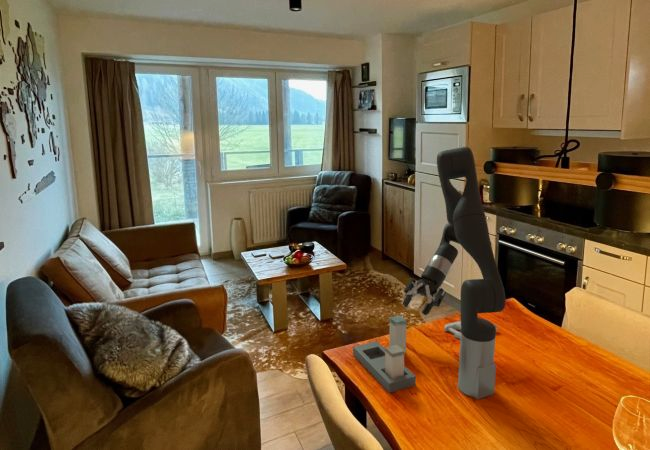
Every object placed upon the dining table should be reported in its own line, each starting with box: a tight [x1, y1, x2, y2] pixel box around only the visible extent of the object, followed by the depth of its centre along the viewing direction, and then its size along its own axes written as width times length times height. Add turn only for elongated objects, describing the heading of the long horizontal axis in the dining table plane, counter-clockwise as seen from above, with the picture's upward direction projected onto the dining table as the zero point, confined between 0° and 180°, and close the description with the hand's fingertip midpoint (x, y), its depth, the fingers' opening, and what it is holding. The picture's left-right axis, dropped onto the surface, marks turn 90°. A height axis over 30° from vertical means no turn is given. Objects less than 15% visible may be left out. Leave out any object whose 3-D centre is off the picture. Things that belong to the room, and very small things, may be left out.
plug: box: [388, 314, 408, 354], centre depth 145 cm, size 4×4×12 cm
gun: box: [443, 319, 499, 340], centre depth 159 cm, size 18×4×10 cm
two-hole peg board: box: [352, 340, 417, 393], centre depth 135 cm, size 23×9×10 cm, turn 23°
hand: (413, 310), depth 148 cm, fingers open, 8 cm apart
